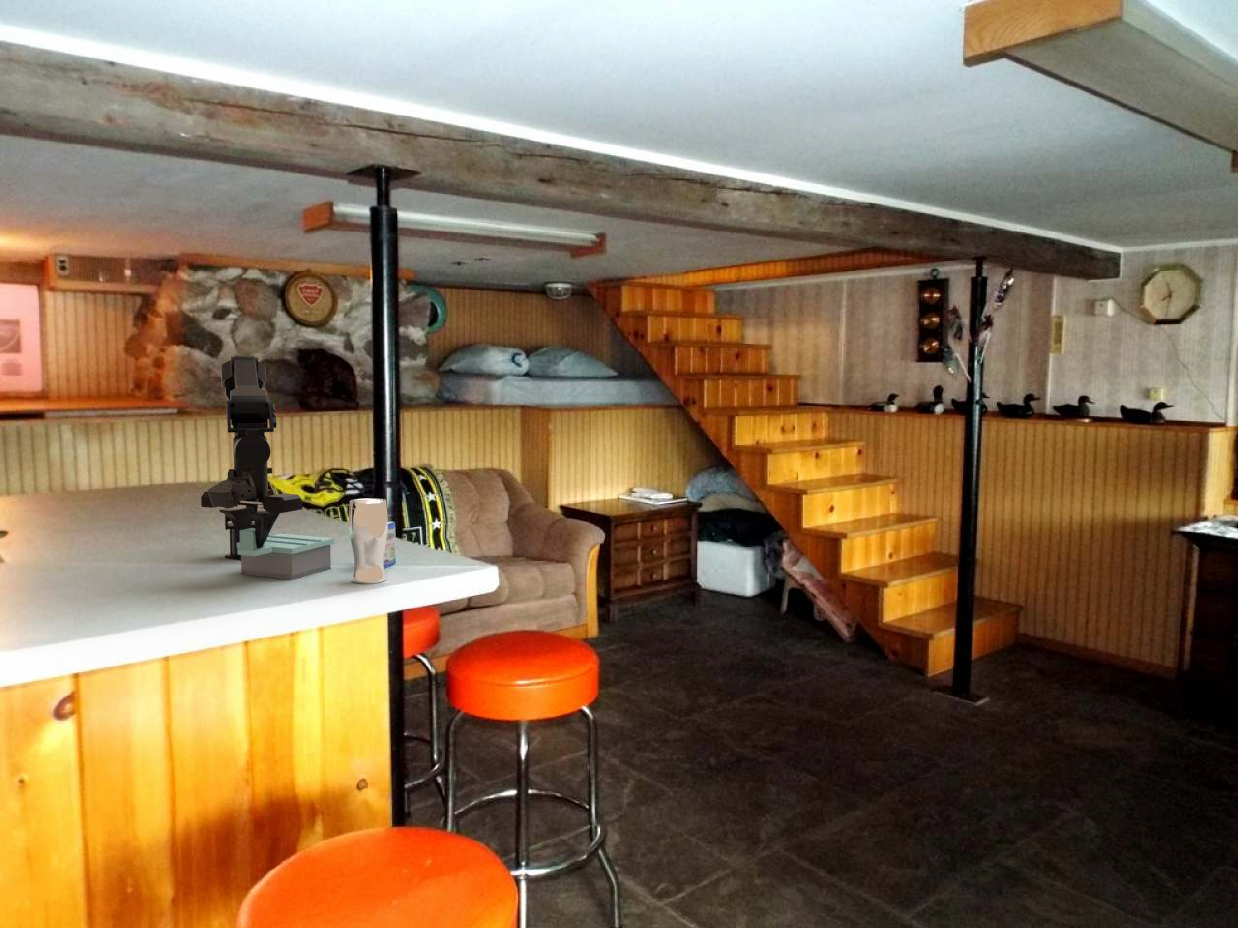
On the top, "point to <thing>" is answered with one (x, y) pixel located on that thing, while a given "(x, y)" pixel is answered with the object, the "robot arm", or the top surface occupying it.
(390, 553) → the medicine box
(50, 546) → the top surface
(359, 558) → the beer glass
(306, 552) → the tub
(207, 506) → the robot arm
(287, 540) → the lid
